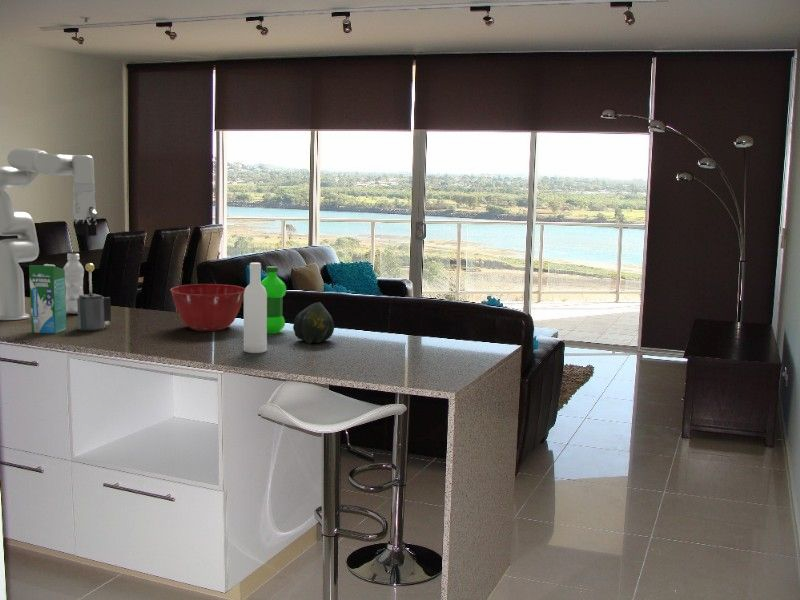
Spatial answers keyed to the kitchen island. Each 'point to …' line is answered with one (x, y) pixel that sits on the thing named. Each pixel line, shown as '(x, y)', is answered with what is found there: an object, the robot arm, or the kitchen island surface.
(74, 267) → the plastic bottle
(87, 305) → the carafe
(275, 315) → the plastic bottle
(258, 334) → the bottle
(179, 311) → the mixing bowl
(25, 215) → the robot arm
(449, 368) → the kitchen island surface
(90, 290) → the plunger
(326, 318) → the squash
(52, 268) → the milk carton
